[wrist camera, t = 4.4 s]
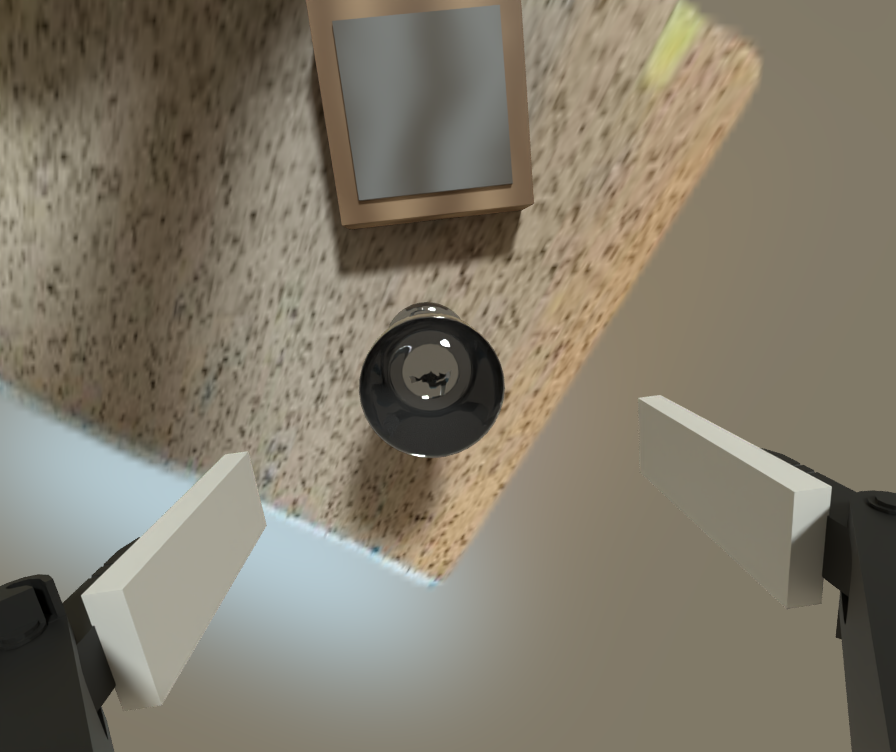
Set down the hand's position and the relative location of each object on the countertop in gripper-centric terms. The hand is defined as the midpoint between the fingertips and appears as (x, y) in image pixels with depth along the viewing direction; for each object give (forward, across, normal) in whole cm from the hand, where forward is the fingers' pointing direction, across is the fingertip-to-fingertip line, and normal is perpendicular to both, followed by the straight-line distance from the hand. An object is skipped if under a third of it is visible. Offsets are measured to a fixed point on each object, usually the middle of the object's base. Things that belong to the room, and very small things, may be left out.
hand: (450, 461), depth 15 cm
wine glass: (+25, 0, 0) cm, 25 cm away
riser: (+25, +2, +17) cm, 30 cm away
